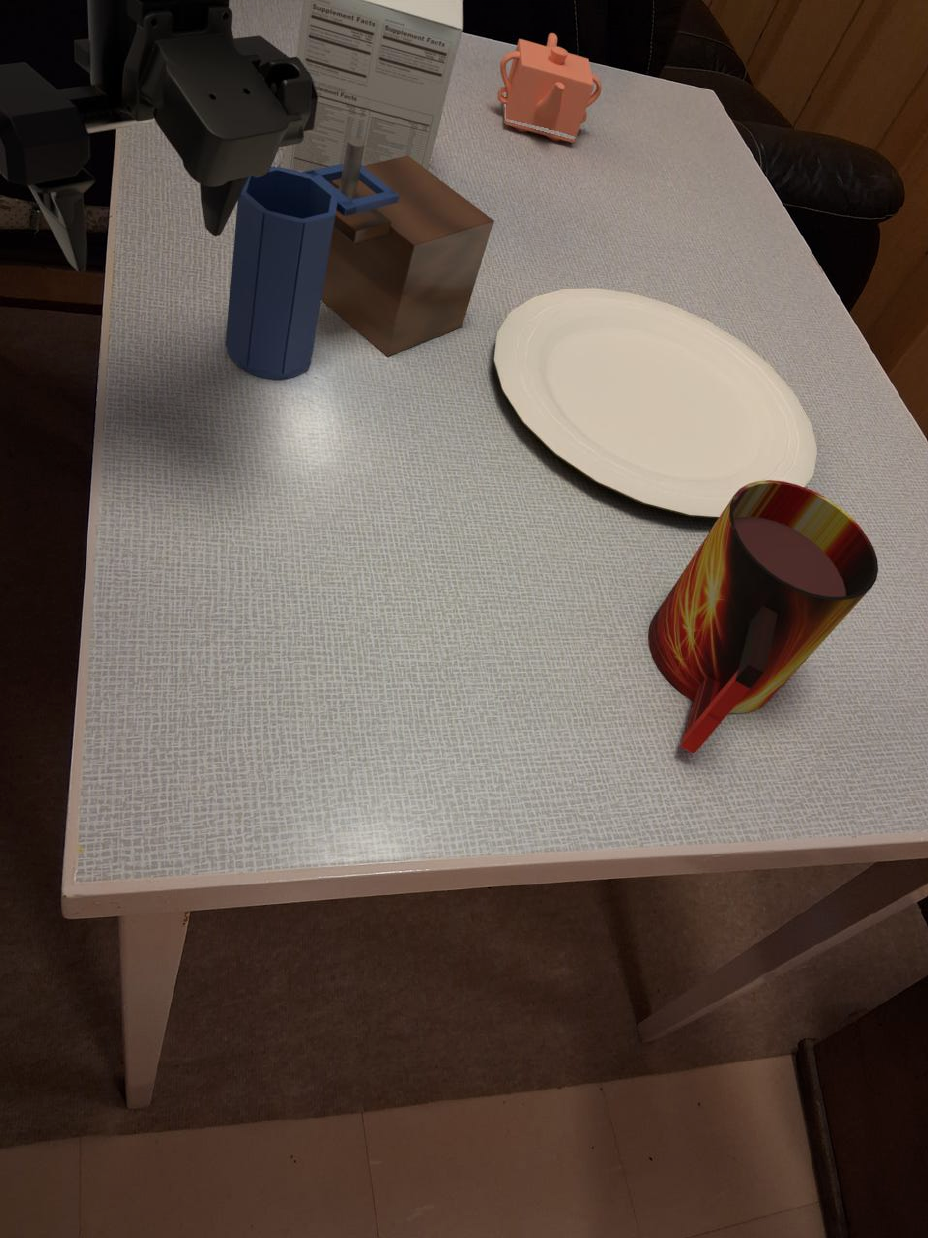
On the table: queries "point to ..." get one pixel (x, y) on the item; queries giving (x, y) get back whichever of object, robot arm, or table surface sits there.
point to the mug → (758, 600)
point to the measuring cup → (286, 264)
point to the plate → (650, 399)
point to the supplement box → (376, 77)
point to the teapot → (547, 88)
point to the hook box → (403, 255)
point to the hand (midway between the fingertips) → (148, 249)
